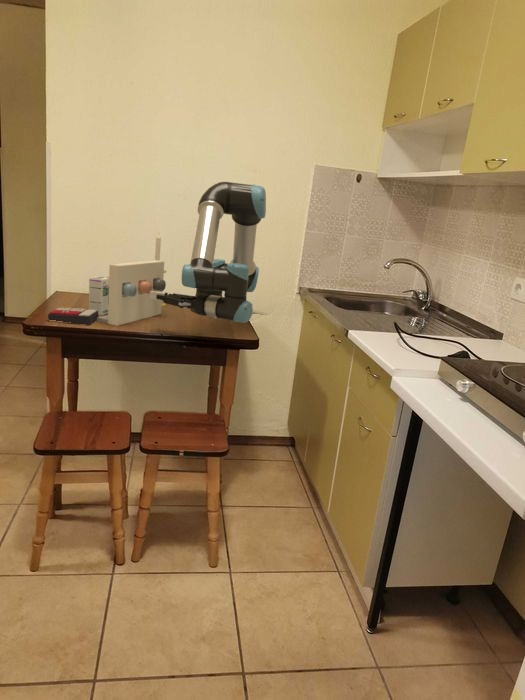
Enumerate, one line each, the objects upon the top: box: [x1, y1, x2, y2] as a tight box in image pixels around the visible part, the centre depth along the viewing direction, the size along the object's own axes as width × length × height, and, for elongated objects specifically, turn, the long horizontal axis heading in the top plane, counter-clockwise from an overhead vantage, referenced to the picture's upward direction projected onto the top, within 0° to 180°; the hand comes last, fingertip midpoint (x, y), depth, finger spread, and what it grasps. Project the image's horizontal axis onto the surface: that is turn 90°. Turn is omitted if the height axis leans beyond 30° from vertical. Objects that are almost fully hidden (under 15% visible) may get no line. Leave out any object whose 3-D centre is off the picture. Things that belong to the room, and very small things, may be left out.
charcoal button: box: [153, 279, 167, 291], centre depth 208 cm, size 4×4×4 cm
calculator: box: [47, 307, 99, 326], centre depth 190 cm, size 11×4×15 cm
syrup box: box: [88, 275, 109, 317], centre depth 203 cm, size 6×6×14 cm
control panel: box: [96, 259, 165, 327], centre depth 201 cm, size 30×9×22 cm, turn 158°
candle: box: [154, 232, 167, 307], centre depth 230 cm, size 10×10×32 cm
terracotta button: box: [138, 281, 152, 294], centre depth 199 cm, size 4×4×4 cm
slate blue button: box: [122, 283, 137, 297], centre depth 190 cm, size 4×4×4 cm
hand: (151, 294), depth 186 cm, fingers closed
